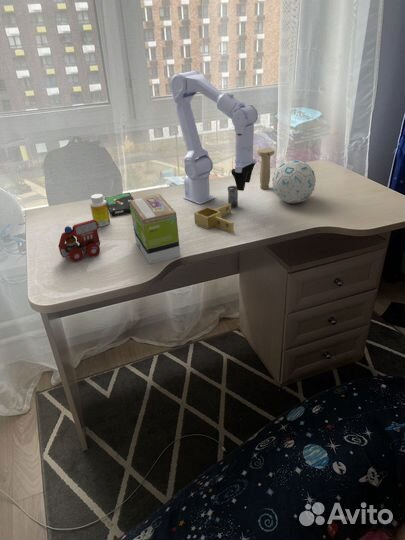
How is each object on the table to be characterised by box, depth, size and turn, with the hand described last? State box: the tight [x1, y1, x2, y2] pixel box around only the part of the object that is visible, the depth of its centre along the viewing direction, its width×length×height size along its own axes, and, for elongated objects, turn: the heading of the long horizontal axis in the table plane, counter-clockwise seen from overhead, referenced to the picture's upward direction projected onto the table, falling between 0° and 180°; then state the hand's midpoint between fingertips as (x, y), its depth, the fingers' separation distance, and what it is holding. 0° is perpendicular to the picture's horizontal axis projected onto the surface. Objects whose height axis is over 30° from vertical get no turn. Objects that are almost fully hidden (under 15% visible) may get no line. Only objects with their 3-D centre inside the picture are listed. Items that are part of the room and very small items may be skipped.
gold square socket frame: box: [193, 203, 235, 234], centre depth 137 cm, size 14×14×4 cm
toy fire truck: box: [57, 219, 101, 263], centre depth 121 cm, size 7×12×10 cm, turn 120°
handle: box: [256, 147, 275, 190], centre depth 159 cm, size 5×6×15 cm
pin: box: [227, 185, 239, 209], centre depth 148 cm, size 4×4×7 cm
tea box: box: [129, 193, 181, 265], centre depth 121 cm, size 15×10×15 cm, turn 23°
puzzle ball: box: [272, 159, 317, 204], centre depth 147 cm, size 15×15×15 cm
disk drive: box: [103, 192, 135, 218], centre depth 153 cm, size 10×3×15 cm
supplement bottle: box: [89, 193, 111, 228], centre depth 139 cm, size 6×6×10 cm
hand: (243, 186), depth 140 cm, fingers open, 7 cm apart
